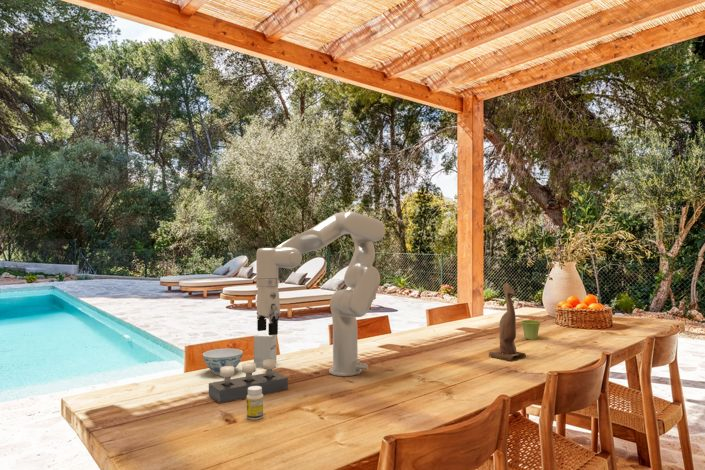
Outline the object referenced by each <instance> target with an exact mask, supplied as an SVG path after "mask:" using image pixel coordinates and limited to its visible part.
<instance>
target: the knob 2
mask: <svg viewBox="0 0 705 470" xmlns="http://www.w3.org/2000/svg"><path fill="white" fill-rule="evenodd" d="M276 368H277V359H276V360H273V359H268V360H264V361H263V367H262V369H263V370H266V371H265V373H266V374H267V378H272V372H273V370H274V369H276Z"/></svg>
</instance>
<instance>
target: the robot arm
mask: <svg viewBox="0 0 705 470" xmlns="http://www.w3.org/2000/svg"><path fill="white" fill-rule="evenodd" d="M385 234H386V227H385V225H384V223H383V222H382V221H381V220H379V219H377V218H374V217H371V216H367V215H365V214H362V213H359V212H355V211H341V212H337V213H334V214H332V215H331V216H329V217H327V218H325V219H324V220H322V221H320V223H318V224H316V225H315V226H312V227H311V228H310V229H307V230H305V231H303V232H301V233H299V234H296V235H295V236H292V237H290V238H289V239H287V240H285V241H283V242H282V243H281V244H279V245H277V246H275V247H260V248H258V249H257V250H256V280H255V281H256V288H257V293H256V306H255V307H256V315H257V316H256V320H257V323H256V325H257V328H256V330H257V332H263V331H267V319H268V322H269V323H268V332H267V333H268V334H269V335H276V336H277V335H278V332H279V325H278V323H279V318H280V316H281V303H280V301H281V300H280V291H279V268H284V269H294V268H296V267H298V266H299V265H300V264H301V263H302V259H303V254H306V253H310V252H314V251H315V252H316V251H318V250H322V249H323V248H325V247H327V246H328V245H330V244H331V243H333V242H334V241H336V240H338V239H339V238H340V237H342V236H344V235H350V236H351V239H352V241H353V245H354V252H353V255H352V257H351V260H350V262H349V263H348V267H347V268H346V271H345V274H344V276H343V281H344V284H345V285H346V286H347V287H348V288H350V289H338V290H336V291H335V292H334V293H333V294H331V297H330V301H329V303H330V304H329V306H330V307H329V308H330V313H331V318H332V366H331V367H330V368H329V369H328V372H329V374H330V375H334V376H337V377H338V376H339V377H352V376H357V375H360V374H361V373H362V371H363V370H366V371H367V370H368V369H369V365H368V364H367V363H362V362H361V359H359V358H358V356H359V355H358V351H359V350H358V321H357V318H361V317H364V316H365V315H366V314H367V313H368V312H369V310H370V308H371V306H372V303H374V299H375V297H376V294H377V292H378V289H379V287H380V284H381V275H380V272H379V270H378V269H377V268H376V267H375V266H373V264H374V261H375V257H376V250H375V246H374V242H378V241H381V240H382V239H383V238H384V236H385ZM351 289H353V290H351Z"/></svg>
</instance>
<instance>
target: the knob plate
mask: <svg viewBox="0 0 705 470" xmlns="http://www.w3.org/2000/svg"><path fill="white" fill-rule="evenodd" d="M251 386H260V387H262V394H263V395H268V394H272V393H277V392H282V391H287V390H289V377H287V376H286V375H283V374H281V373H279V372H277V371H275V370H274V371H272V378H267V374H266V372H264V373H258V374H254V375H253V374H252V381H251V382H246V376H243V377H237V378H231V385H229V386H224V380H219V381H215V382H214V381H213V382H210V383H208V396H209V397H210V398H211V399H213V400H214V401H215V402H217V403H218V404H224V403H228V402H232V401H239V400H243V399H247V395H248V388H249V387H251Z"/></svg>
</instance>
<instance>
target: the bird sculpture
mask: <svg viewBox="0 0 705 470" xmlns="http://www.w3.org/2000/svg"><path fill="white" fill-rule="evenodd" d="M502 288H503V289H502V290H503V294H504V298H505V303H506V312H504V313H503V315H502V316H501V317H500V321H499V332H498V333H499V349H497V350H496V349H495V350H493V351H492V350H491V351H489V352H488V358H493V359H496V360H498V359H499V360H501V361H508V362H511V361H512V359H513V357H515V356H516V357H523V358H527V354H526V353H525V352H521V351H517V346H516V344H515V340H516V338H517V324H516V323H517V322H516V321H517V320H516V319H517V318H516V311H515V308H514V307H515V306H514V303H513V300H512V297H511V296H513V297H516V290H514V288H512V287H511V285H510V284H509V282H506V283H505V284H503V287H502Z"/></svg>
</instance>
